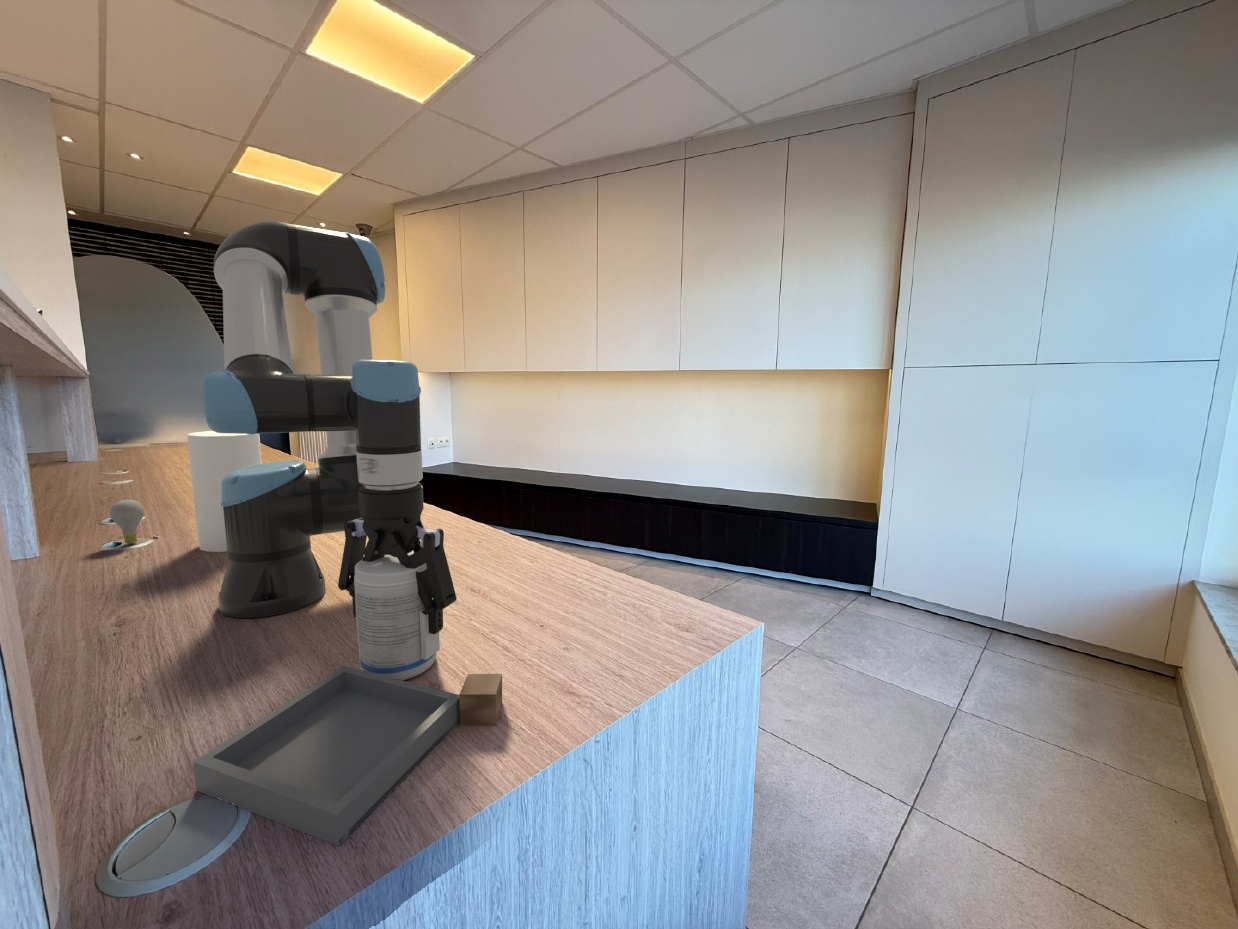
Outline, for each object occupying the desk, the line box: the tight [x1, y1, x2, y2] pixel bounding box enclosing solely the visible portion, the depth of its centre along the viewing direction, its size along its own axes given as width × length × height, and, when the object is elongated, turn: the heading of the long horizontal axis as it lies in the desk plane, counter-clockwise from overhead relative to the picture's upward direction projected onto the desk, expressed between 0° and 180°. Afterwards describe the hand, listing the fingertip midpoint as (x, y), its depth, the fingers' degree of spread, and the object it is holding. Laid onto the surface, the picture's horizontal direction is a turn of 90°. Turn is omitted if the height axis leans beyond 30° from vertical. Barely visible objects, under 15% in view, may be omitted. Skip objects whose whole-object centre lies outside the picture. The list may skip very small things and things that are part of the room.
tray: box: [192, 665, 460, 847], centre depth 52 cm, size 17×17×3 cm
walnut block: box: [458, 673, 503, 727], centre depth 59 cm, size 4×4×4 cm
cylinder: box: [186, 430, 263, 553], centre depth 113 cm, size 12×12×25 cm
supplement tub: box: [354, 551, 438, 681], centre depth 67 cm, size 10×10×15 cm
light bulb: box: [109, 499, 145, 545], centre depth 111 cm, size 6×6×10 cm
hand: (398, 646), depth 68 cm, fingers closed on supplement tub, 10 cm apart
